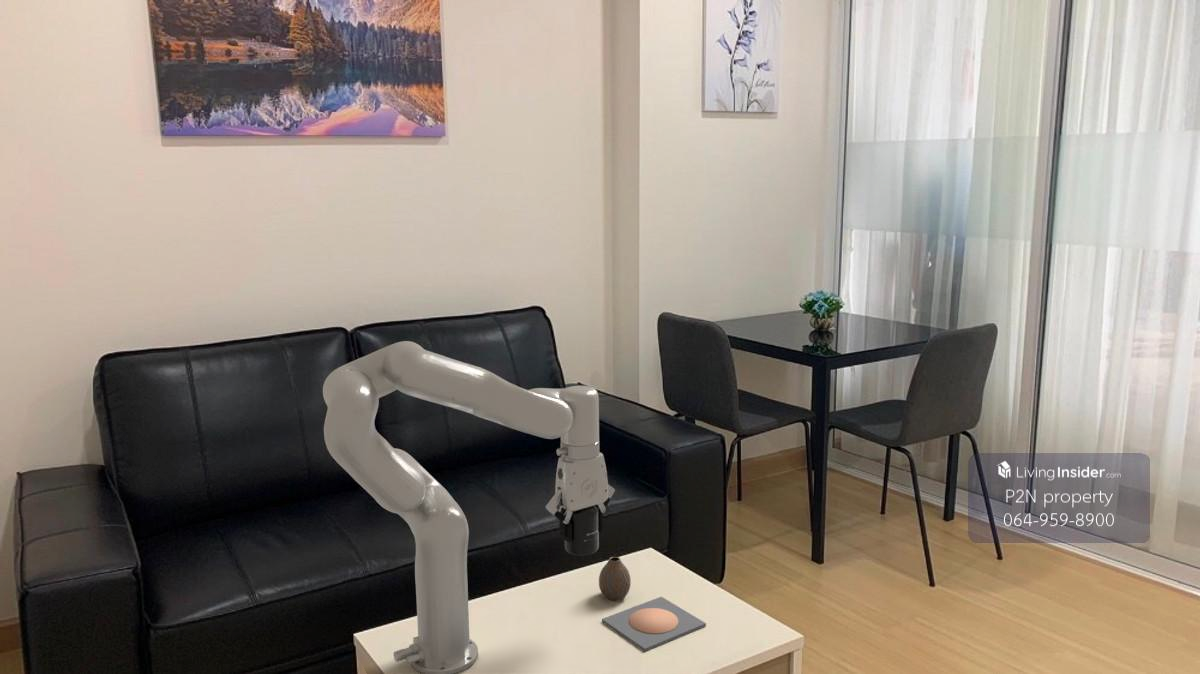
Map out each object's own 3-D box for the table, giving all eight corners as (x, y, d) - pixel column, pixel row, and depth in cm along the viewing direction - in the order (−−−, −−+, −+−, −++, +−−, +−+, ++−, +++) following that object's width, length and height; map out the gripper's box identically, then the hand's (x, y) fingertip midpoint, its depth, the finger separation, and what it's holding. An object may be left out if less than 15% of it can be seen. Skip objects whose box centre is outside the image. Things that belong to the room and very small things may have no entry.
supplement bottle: (595, 558, 167) (594, 500, 165) (561, 555, 168) (559, 498, 166) (602, 543, 173) (601, 487, 171) (569, 540, 175) (567, 485, 172)
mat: (644, 651, 164) (644, 647, 164) (601, 621, 176) (601, 618, 175) (705, 625, 174) (706, 622, 174) (661, 599, 185) (661, 595, 185)
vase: (594, 601, 184) (594, 563, 182) (604, 587, 190) (603, 550, 189) (625, 606, 182) (625, 567, 180) (634, 591, 188) (634, 554, 187)
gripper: (553, 463, 159) (556, 553, 162) (626, 445, 169) (627, 529, 172) (532, 453, 165) (534, 540, 168) (604, 436, 175) (605, 518, 178)
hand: (581, 534), depth 170 cm, fingers closed on supplement bottle, 6 cm apart
